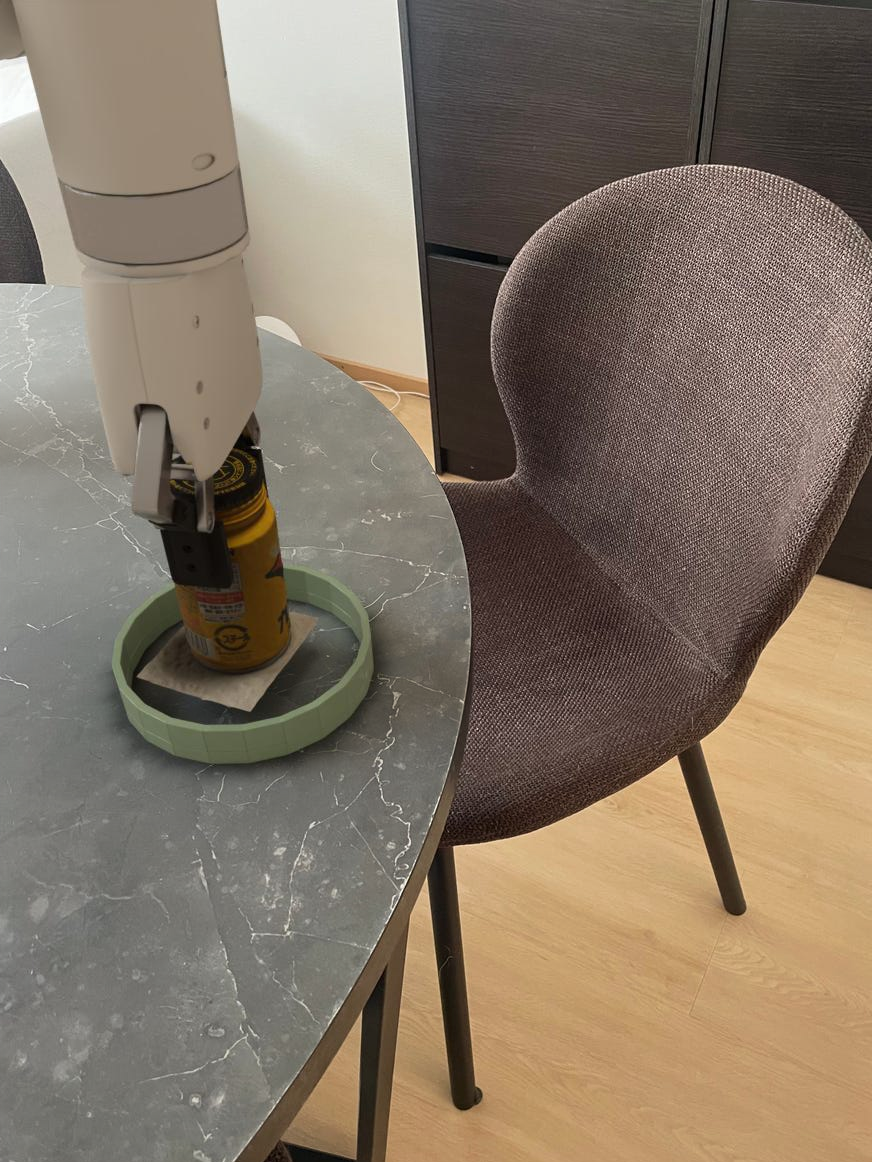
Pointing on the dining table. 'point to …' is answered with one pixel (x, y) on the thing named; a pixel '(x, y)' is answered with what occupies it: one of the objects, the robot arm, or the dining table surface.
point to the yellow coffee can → (234, 601)
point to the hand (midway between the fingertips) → (223, 542)
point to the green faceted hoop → (261, 735)
